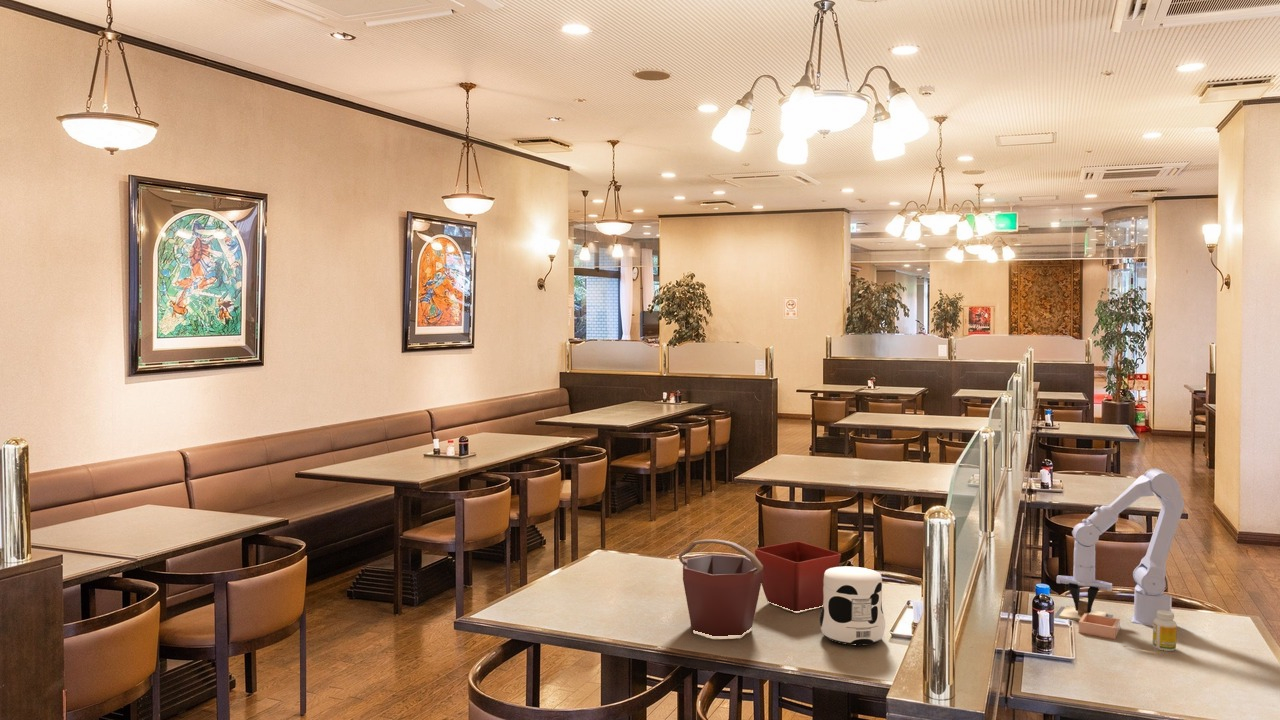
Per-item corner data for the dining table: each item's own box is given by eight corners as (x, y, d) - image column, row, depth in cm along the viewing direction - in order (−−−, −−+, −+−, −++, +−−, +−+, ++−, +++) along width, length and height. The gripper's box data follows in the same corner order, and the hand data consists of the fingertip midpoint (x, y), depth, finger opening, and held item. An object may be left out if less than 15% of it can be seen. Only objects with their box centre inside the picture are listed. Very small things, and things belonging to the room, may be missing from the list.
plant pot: (842, 608, 272) (843, 553, 271) (796, 620, 261) (796, 562, 261) (797, 592, 288) (798, 540, 287) (752, 603, 277) (752, 548, 276)
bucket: (662, 628, 253) (662, 540, 252) (711, 610, 270) (711, 527, 269) (732, 650, 237) (732, 556, 236) (779, 629, 253) (780, 541, 252)
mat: (1113, 616, 265) (1113, 615, 265) (1106, 627, 255) (1106, 626, 255) (1061, 607, 273) (1061, 606, 273) (1053, 618, 263) (1053, 616, 263)
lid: (1107, 614, 265) (1107, 600, 265) (1101, 624, 256) (1101, 610, 256) (1066, 607, 272) (1066, 594, 272) (1059, 617, 263) (1059, 603, 263)
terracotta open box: (1119, 631, 252) (1120, 619, 252) (1114, 640, 245) (1115, 628, 244) (1084, 625, 257) (1084, 613, 257) (1078, 634, 250) (1078, 621, 250)
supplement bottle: (1148, 646, 240) (1148, 610, 240) (1161, 643, 243) (1161, 608, 242) (1167, 653, 236) (1168, 616, 235) (1180, 649, 238) (1181, 613, 238)
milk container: (842, 624, 258) (842, 561, 257) (897, 639, 245) (897, 574, 245) (807, 639, 246) (807, 573, 245) (862, 655, 233) (863, 586, 233)
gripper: (1054, 564, 264) (1053, 609, 265) (1109, 572, 256) (1108, 619, 257) (1059, 558, 270) (1058, 603, 271) (1113, 566, 262) (1112, 612, 262)
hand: (1083, 610), depth 264 cm, fingers closed on lid, 2 cm apart
